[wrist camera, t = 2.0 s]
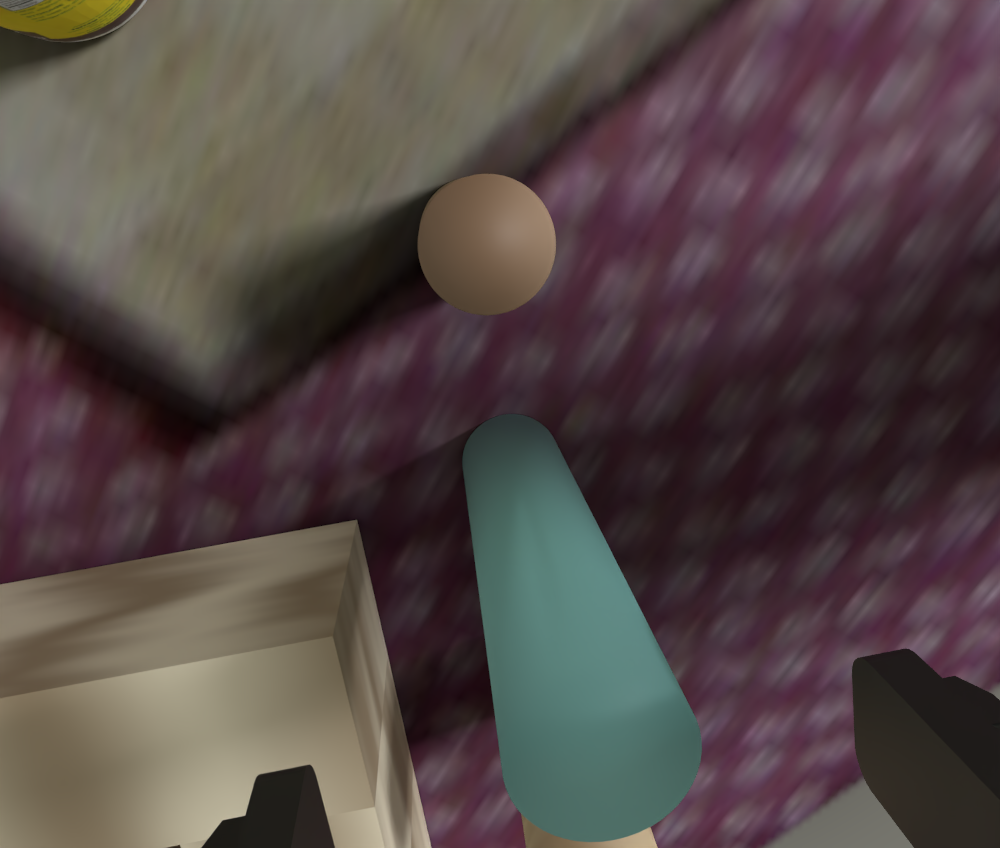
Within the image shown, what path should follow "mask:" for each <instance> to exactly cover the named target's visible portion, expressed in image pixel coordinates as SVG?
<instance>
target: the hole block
mask: <svg viewBox="0 0 1000 848" xmlns="http://www.w3.org/2000/svg"><path fill="white" fill-rule="evenodd" d="M309 764H310V765H311V766H312V767H313V769H314V771H315V774H316V777H317V781H318V784H319V788H320V792H321V796H322V800H323V803H324V807H325V811H326V815H327V819H328V823H329V826H330V830H331V834H332V838H333V842H334V845H335V848H431V844H430V839H429V835H428V830H427V826H426V822H425V817H424V813H423V808H422V804H421V800H420V795H419V791H418V786H417V782H416V777H415V773H414V769H413V764H412V760H411V755H410V751H409V747H408V742H407V738H406V733H405V729H404V724H403V720H402V716H401V711H400V707H399V702H398V698H397V694H396V689H395V685H394V680H393V676H392V671H391V667H390V663H389V658H388V654H387V649H386V645H385V641H384V636H383V632H382V627H381V623H380V618H379V614H378V610H377V605H376V601H375V596H374V592H373V588H372V583H371V579H370V574H369V570H368V565H367V561H366V557H365V552H364V548H363V543H362V539H361V535H360V530H359V526H358V521H357V520H353V521H347V522H342V523H336V524H331V525H325V526H320V527H314V528H309V529H303V530H297V531H292V532H286V533H281V534H275V535H270V536H264V537H259V538H253V539H248V540H242V541H237V542H231V543H226V544H220V545H215V546H209V547H204V548H198V549H193V550H187V551H182V552H176V553H171V554H165V555H160V556H154V557H149V558H143V559H138V560H132V561H127V562H121V563H116V564H110V565H105V566H99V567H94V568H88V569H83V570H77V571H72V572H66V573H61V574H55V575H50V576H44V577H39V578H33V579H28V580H22V581H17V582H11V583H6V584H0V848H201V847H202V846H203V845H204V844H205V842H206V841H207V840H208V838H209V837H210V836H211V834H212V833H213V832H214V831H215V829H216V828H217V827H218V825H219V824H220V823H221V821H222V820H226V819H231V818H236V817H241V816H245V815H246V811H247V807H248V804H249V800H250V796H251V793H252V789H253V785H254V782H255V779H256V777H257V776H258V775H259V774H264V773H269V772H274V771H279V770H284V769H289V768H294V767H299V766H304V765H309Z"/></svg>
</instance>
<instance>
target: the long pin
mask: <svg viewBox="0 0 1000 848" xmlns="http://www.w3.org/2000/svg"><path fill="white" fill-rule="evenodd" d="M462 466H463V474H464V482H465V489H466V497H467V505H468V513H469V520H470V528H471V536H472V543H473V551H474V559H475V566H476V574H477V582H478V589H479V597H480V605H481V612H482V620H483V628H484V635H485V643H486V651H487V658H488V666H489V674H490V681H491V689H492V697H493V705H494V712H495V720H496V728H497V735H498V743H499V751H500V758H501V766H502V774H503V780H504V783H505V787H506V790H507V792H508V794H509V796H510V799H511V800H512V802H513V803H514V805H515V806H516V808H517V809H518V810H519V811H520V813H521V814H522V815H523V816H524V817H525V818H526V819H528V820H529V821H530V822H531V823H532V824H534V825H535V826H537V827H538V828H540V829H542V830H543V831H545V832H548V833H550V834H552V835H554V836H557V837H561V838H564V839H568V840H573V841H580V842H604V841H611V840H617V839H621V838H624V837H628V836H631V835H633V834H636V833H639V832H641V831H643V830H645V829H647V828H649V827H651V826H652V825H654V824H655V823H657V822H659V821H660V820H662V819H663V818H664V817H665V816H667V815H668V814H669V813H670V812H671V811H672V810H673V809H674V808H675V807H676V806H677V805H678V804H679V803H680V802H681V801H682V799H683V798H684V797H685V795H686V794H687V793H688V791H689V789H690V787H691V786H692V784H693V782H694V779H695V777H696V775H697V772H698V768H699V765H700V760H701V752H702V745H701V735H700V729H699V726H698V723H697V720H696V718H695V716H694V714H693V712H692V710H691V708H690V706H689V704H688V702H687V700H686V698H685V696H684V694H683V692H682V690H681V688H680V686H679V684H678V682H677V680H676V678H675V676H674V674H673V672H672V670H671V668H670V666H669V664H668V662H667V660H666V659H665V657H664V655H663V653H662V651H661V649H660V647H659V645H658V643H657V641H656V639H655V637H654V635H653V633H652V631H651V629H650V627H649V625H648V623H647V621H646V619H645V617H644V615H643V613H642V611H641V609H640V607H639V605H638V603H637V601H636V599H635V597H634V595H633V593H632V591H631V589H630V588H629V586H628V584H627V582H626V580H625V578H624V576H623V574H622V572H621V570H620V568H619V566H618V564H617V562H616V560H615V558H614V556H613V554H612V552H611V550H610V548H609V546H608V544H607V542H606V540H605V538H604V536H603V534H602V532H601V530H600V528H599V526H598V524H597V522H596V520H595V519H594V517H593V515H592V513H591V511H590V509H589V507H588V505H587V503H586V501H585V499H584V497H583V495H582V493H581V491H580V489H579V487H578V485H577V483H576V481H575V479H574V477H573V475H572V473H571V471H570V469H569V467H568V465H567V463H566V461H565V459H564V457H563V455H562V453H561V451H560V449H559V448H558V446H557V444H556V442H555V440H554V438H553V436H552V434H551V433H550V432H549V430H548V429H547V428H546V427H545V426H544V425H542V424H541V423H540V422H538V421H537V420H535V419H533V418H530V417H528V416H524V415H519V414H505V415H500V416H496V417H494V418H491V419H489V420H487V421H485V422H484V423H482V424H481V425H480V426H479V427H478V428H476V429H475V430H474V432H473V433H472V434H471V436H470V437H469V439H468V440H467V443H466V445H465V448H464V451H463V457H462Z"/></svg>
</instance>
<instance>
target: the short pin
mask: <svg viewBox="0 0 1000 848" xmlns="http://www.w3.org/2000/svg"><path fill="white" fill-rule="evenodd" d="M555 252H556V238H555V231H554V226H553V223H552V220H551V217H550V215H549V213H548V211H547V209H546V207H545V206H544V204H543V203H542V201H541V200H540V199H539V198H538V197H537V195H536V194H535V193H534V192H532V191H531V190H530V189H529V188H528V187H526V186H525V185H523V184H522V183H520V182H518V181H516V180H514V179H512V178H509V177H506V176H502V175H496V174H477V175H472V176H468V177H463V178H459V179H456V180H453V181H451V182H449V183H447V184H445V185H444V186H442V187H441V188H440V189H438V190H437V191H436V192H435V193H434V194H433V196H432V197H431V198H430V199H429V201H428V203H427V204H426V206H425V209H424V211H423V214H422V218H421V222H420V228H419V234H418V255H419V261H420V264H421V268H422V270H423V273H424V275H425V277H426V279H427V281H428V283H429V284H430V285H431V287H432V288H433V290H434V291H435V292H436V293H437V294H438V295H439V296H440V297H441V298H442V299H443V300H445V301H446V302H447V303H449V304H450V305H452V306H454V307H455V308H458V309H460V310H462V311H465V312H468V313H472V314H478V315H496V314H501V313H505V312H508V311H511V310H514V309H516V308H518V307H520V306H521V305H523V304H525V303H526V302H527V301H529V300H530V299H531V298H532V297H533V296H534V295H535V294H537V292H538V291H539V290H540V289H541V288H542V286H543V285H544V283H545V282H546V280H547V278H548V276H549V274H550V272H551V269H552V266H553V263H554V258H555Z"/></svg>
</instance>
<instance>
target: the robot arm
mask: <svg viewBox="0 0 1000 848" xmlns="http://www.w3.org/2000/svg"><path fill="white" fill-rule="evenodd" d="M852 683H853V708H854V733H855V749H856V755H857V759H858V763H859V766H860V769H861V772H862V774H863V776H864V779H865V781H866V783H867V785H868V786H869V788H870V790H871V791H872V793H873V794H874V795H875V797H876V798H877V799H878V801H879V802H880V803H881V804H882V806H883V807H884V809H885V810H886V811H887V812H888V814H889V815H890V816H891V818H892V819H893V820H894V822H895V823H896V824H897V826H898V827H899V828H900V830H901V831H902V832H903V833H904V835H905V836H906V838H907V839H908V840H909V841H910V843H911V844H912V845H913V847H914V848H1000V700H999V699H998V698H996V697H995V696H994V695H993V694H991V693H989V692H987V691H985V690H983V689H981V688H979V687H977V686H975V685H973V684H971V683H969V682H967V681H964V680H962V679H960V678H958V677H956V676H952V677H947V678H941V677H940V676H939V675H938V674H937V673H936V672H935V671H934V670H933V669H932V668H931V667H930V666H929V665H927V664H926V663H925V662H924V661H923V660H922V659H921V658H920V657H919V656H918V655H917V654H916V653H914V652H913V651H911V650H910V649H901V650H896V651H891V652H886V653H881V654H876V655H871V656H865V657H860V658H857V659H855V661H854V663H853V667H852ZM201 848H335V845H334V842H333V838H332V834H331V830H330V826H329V823H328V819H327V815H326V811H325V807H324V803H323V800H322V796H321V792H320V788H319V784H318V781H317V777H316V774H315V771H314V769H313V767H312V766H311V765H310V764H309V765H304V766H299V767H294V768H289V769H284V770H279V771H274V772H269V773H264V774H259V775H258V776H257V777H256V779H255V782H254V785H253V789H252V793H251V796H250V800H249V804H248V807H247V811H246V815H245V816H241V817H236V818H231V819H226V820H222V821H221V823H220V824H219V825H218V827H217V828H216V829H215V831H214V832H213V833H212V834H211V836H210V837H209V838H208V840H207V841H206V842H205V844H204V845H203V846H202V847H201Z"/></svg>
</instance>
